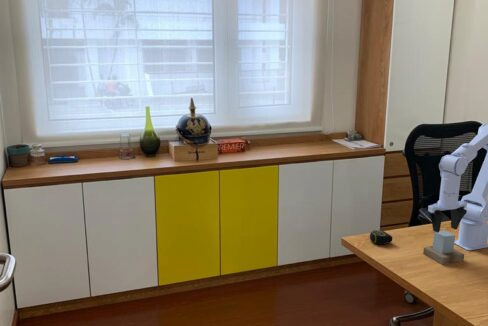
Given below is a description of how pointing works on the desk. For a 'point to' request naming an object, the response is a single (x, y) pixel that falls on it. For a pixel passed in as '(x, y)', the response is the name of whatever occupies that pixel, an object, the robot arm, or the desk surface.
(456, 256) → the walnut base
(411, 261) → the desk surface
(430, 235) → the desk surface
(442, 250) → the grey block
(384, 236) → the tape measure
